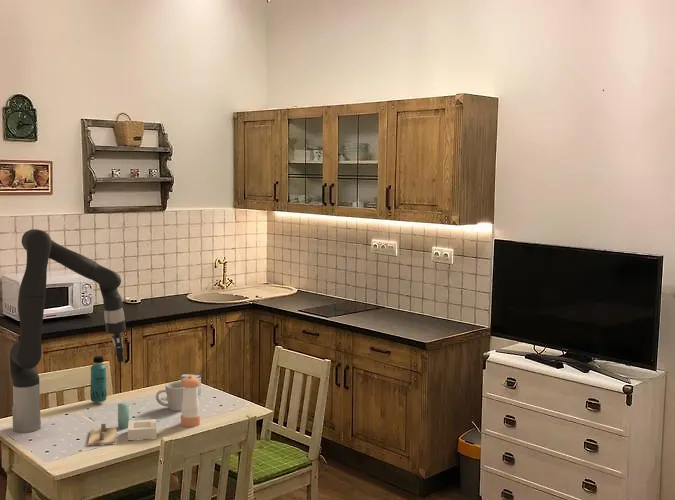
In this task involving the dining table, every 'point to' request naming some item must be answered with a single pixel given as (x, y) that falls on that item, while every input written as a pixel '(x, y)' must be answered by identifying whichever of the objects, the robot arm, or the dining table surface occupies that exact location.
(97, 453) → the dining table surface
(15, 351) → the robot arm
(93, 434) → the board
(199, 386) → the medicine box
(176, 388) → the mug
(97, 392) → the beverage bottle
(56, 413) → the dining table surface
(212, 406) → the dining table surface
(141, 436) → the socket block
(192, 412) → the pepper shaker
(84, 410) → the dining table surface
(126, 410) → the pin
